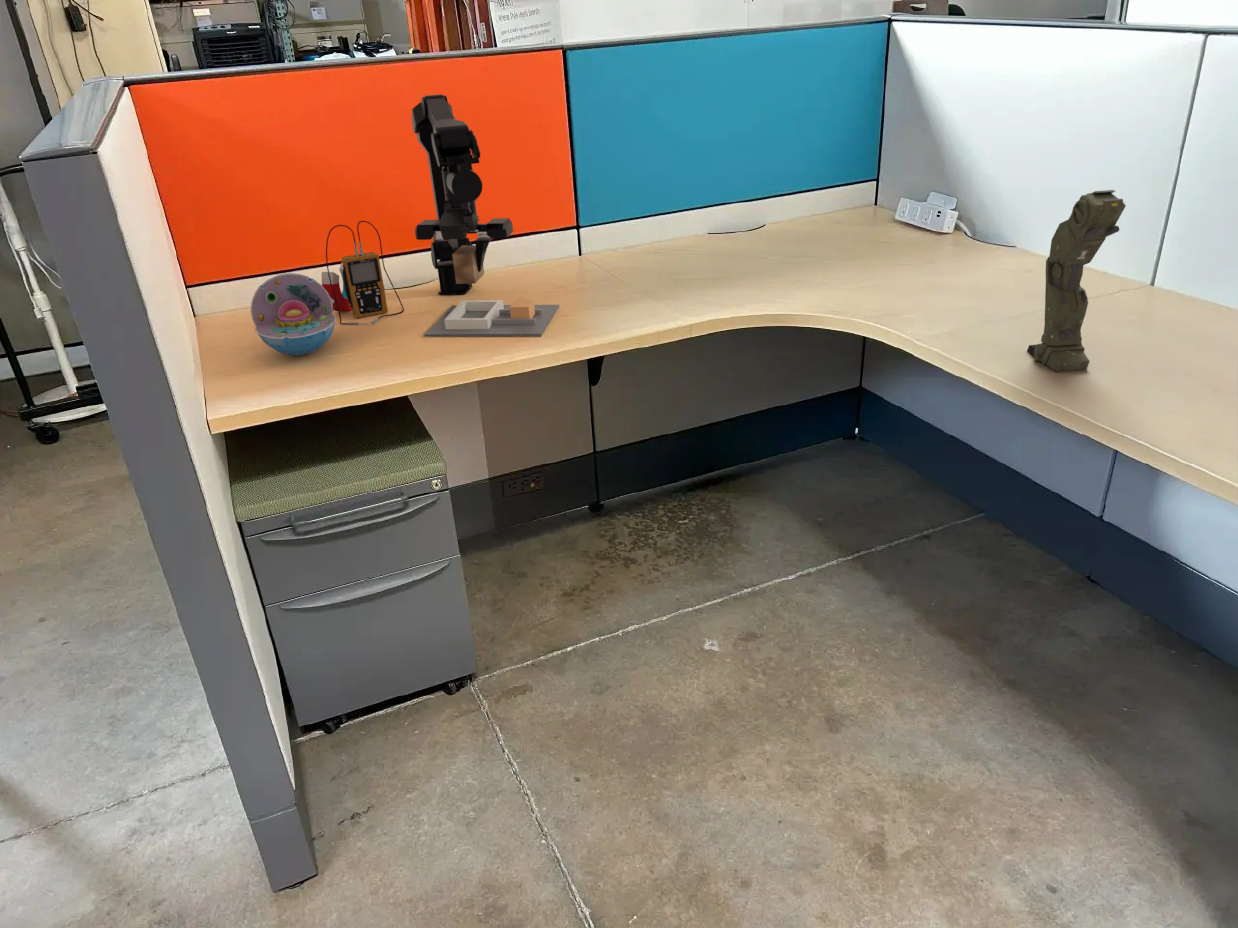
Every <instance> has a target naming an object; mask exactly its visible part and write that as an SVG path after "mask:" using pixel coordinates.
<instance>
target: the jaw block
mask: <svg viewBox="0 0 1238 928" xmlns="http://www.w3.org/2000/svg"><path fill="white" fill-rule="evenodd" d="M452 257H453V264H454V272H455V279H456V284H472V285H473V284H477V282H479V280H480V279H482V277H483V276H484V275H485V266H484V265H483V266H482V270H481V271H480V272H478V267H477V252H476V245H475V244H474V245H473V244H472V245H462V246H461V247H460V248H459V249H458V250H456V251H455V252H454V253H453V254H452Z"/></svg>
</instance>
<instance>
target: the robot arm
mask: <svg viewBox="0 0 1238 928" xmlns="http://www.w3.org/2000/svg"><path fill="white" fill-rule="evenodd" d="M453 112H454V111H453V107H452V105H451V104H450V103H449V102H448V98H447V95H446V94H445V95H444V94H442V93H440V94H427V95H424V96H422V97H421V99H420V102H419V103H418V104H417V105H415V106H414V107H413V108H411V124H412V125H411V126H412V131H413V133H414V134H416V138H417V142H418V143H419V144H420V146H421V147H422V148H423V149H424V151H425V153H426V155H427V161H428V163H427V164H428V167H429V174H430V180H431V181H430V182H431V187H432V195H433V201H434V202H433V203H434V207H435V214H436V219H424V220H422V221H421V222H419V223H418V224H417V225H416V226H415V229H414V232H415V233H414V234H415V239H416V240H419V241H420V240H422V241H424V240H425V241H426V240H432V241H431V243H430V245H431V246H430V256H431V261H432V262H431V263H432V266H433V268H434V269H435V270H437V274H438V282H439V287H440V289H439V291H438V292H437V293H438V295H466V294H467V293H468V292H469V291H470V290H471V289H472V288H473V284H456V279H455V272H454V264H453V257H452V254H453V253H454V252H455V251H456V250H458V249H459V248H460V247H461V246H462V245H473V243H472V242H471V241H470V239H469V237H468V234H477V235H476V236H477V238H476V239H474V245H476V252H477V267H478V272H480V271H481V270H482V266H484V261H485V257H486V253H487V249H488V246H489V244H490V242H491V241H492V240H493V239H507V238H508V237H509V236H511V234H513V232H514V228H513V227H514V226H513V222H512V220H511V219H510V218H506V217H505V218H504V217H503V218H502V217H501V218H491V219H490V220H489V221H488V222H487V223H479V221H480V219H479V217H480V216H479V215H478V214H477V213H478V212H477V203H476V201H477V200H478V198H479V197H480V196H481V194H482V190H483V183H482V180H481V177H480V176H479V175H478V173H476V172H475V171H474V170H473V164H479V163H480V158H481V151H480V147H479V144H478V141H477V137H476V135H475V134H474V131H473V130H472V129H470V128H469V126H468V124H467V123H466V122H465V121H464V120H458V119H456V118H455V115H454V113H453Z"/></svg>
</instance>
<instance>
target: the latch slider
mask: <svg viewBox="0 0 1238 928" xmlns="http://www.w3.org/2000/svg"><path fill="white" fill-rule="evenodd" d="M510 305H511V306H510V315H511V318H533V316H534V315H535V305H536V304H535V299H515V300H514V301H513V302H512V304H510Z"/></svg>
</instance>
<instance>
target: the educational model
mask: <svg viewBox="0 0 1238 928" xmlns="http://www.w3.org/2000/svg"><path fill="white" fill-rule="evenodd" d="M333 303H334V300H333V299H331V298H330V296H329V294H328V292H327V291H326V290H325V289H324V287H323V286H322V283H319V282H318V281H317V280H316V279H314V278H311V277H309V276H308V275H305V274H301V273H293V272H292V273H291V272H288V273H282V274H281V273H280V274H277V275H275V276H272V277H270V278H268V279H267V280H266V281H264V282H263V283H262V284H261V285H259V286H258V287H257V289H256V290H255V292H254V294H253V296H252V300H251V303H250V314H251V319H252V322H253V324H254V326H255V327H254V329H255V330H254V331H255V332H256V334H257V335H258V336H259V338H260V339H261V341H262V342H264V343H265V345H267V346H268V347H270V348H271V349H273V350H275V351H277V352H280V353H282V354H285V355H289V356H305V355H306V354H307V355H308V354H311V353H313V352H315V351H317V350H319V349H320V348H321V347H323V346H324V345H325V344H326V343H327V342H328V340H329V339H330V338H331V336H332V335H333V332H334V329H335V324H336V321H337V318H336V315H335V314H334V310H333Z"/></svg>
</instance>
